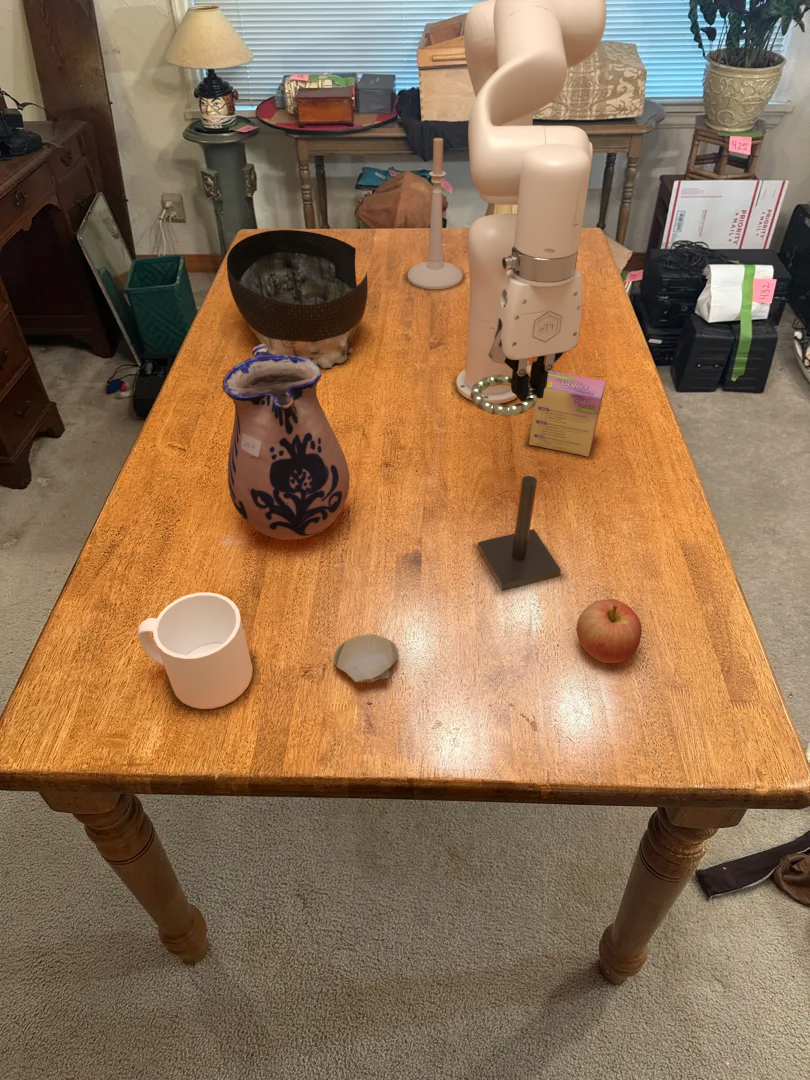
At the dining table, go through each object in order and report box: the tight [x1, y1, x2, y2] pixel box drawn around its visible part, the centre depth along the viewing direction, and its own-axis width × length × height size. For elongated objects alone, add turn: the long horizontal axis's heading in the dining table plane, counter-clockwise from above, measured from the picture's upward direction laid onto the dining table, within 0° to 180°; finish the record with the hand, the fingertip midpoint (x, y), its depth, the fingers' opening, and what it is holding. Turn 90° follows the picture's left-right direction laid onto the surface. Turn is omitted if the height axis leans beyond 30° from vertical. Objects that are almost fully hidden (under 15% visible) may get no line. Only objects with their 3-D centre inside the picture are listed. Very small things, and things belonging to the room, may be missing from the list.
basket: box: [226, 229, 369, 369], centre depth 152 cm, size 28×35×16 cm
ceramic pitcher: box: [221, 343, 350, 541], centre depth 109 cm, size 18×21×25 cm
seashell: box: [332, 634, 399, 684], centre depth 96 cm, size 8×3×8 cm
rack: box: [477, 475, 562, 591], centre depth 105 cm, size 9×9×15 cm
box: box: [528, 370, 607, 458], centre depth 127 cm, size 10×6×12 cm, turn 71°
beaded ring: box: [470, 374, 538, 417], centre depth 102 cm, size 9×9×1 cm
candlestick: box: [407, 137, 464, 290], centre depth 166 cm, size 13×13×30 cm
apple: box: [576, 598, 642, 664], centre depth 96 cm, size 8×8×8 cm
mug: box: [136, 591, 254, 710], centre depth 92 cm, size 13×10×10 cm
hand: (527, 394), depth 103 cm, fingers closed on beaded ring, 1 cm apart
